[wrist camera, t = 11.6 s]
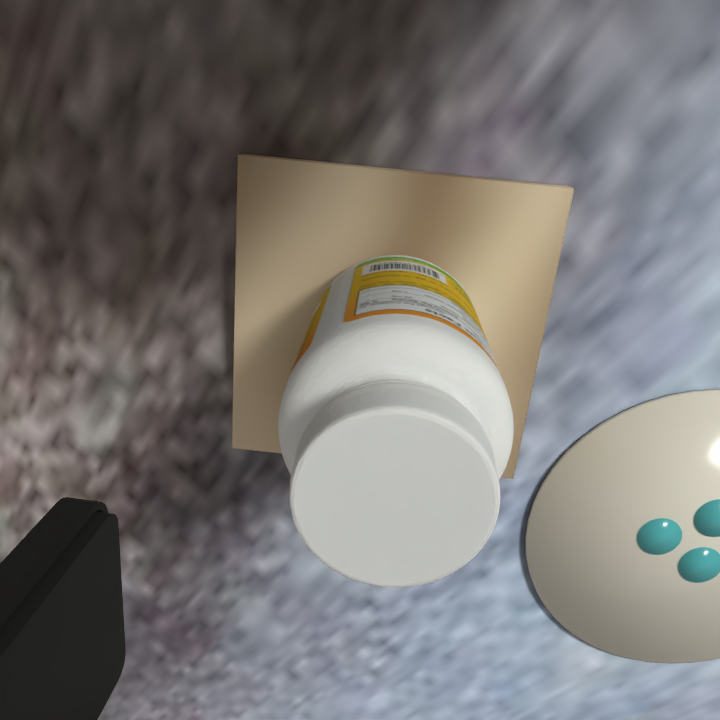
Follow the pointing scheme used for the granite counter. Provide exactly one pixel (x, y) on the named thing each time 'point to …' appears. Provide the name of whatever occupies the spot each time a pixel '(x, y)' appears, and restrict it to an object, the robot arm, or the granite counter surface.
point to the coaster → (636, 532)
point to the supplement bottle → (395, 426)
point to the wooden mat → (379, 238)
